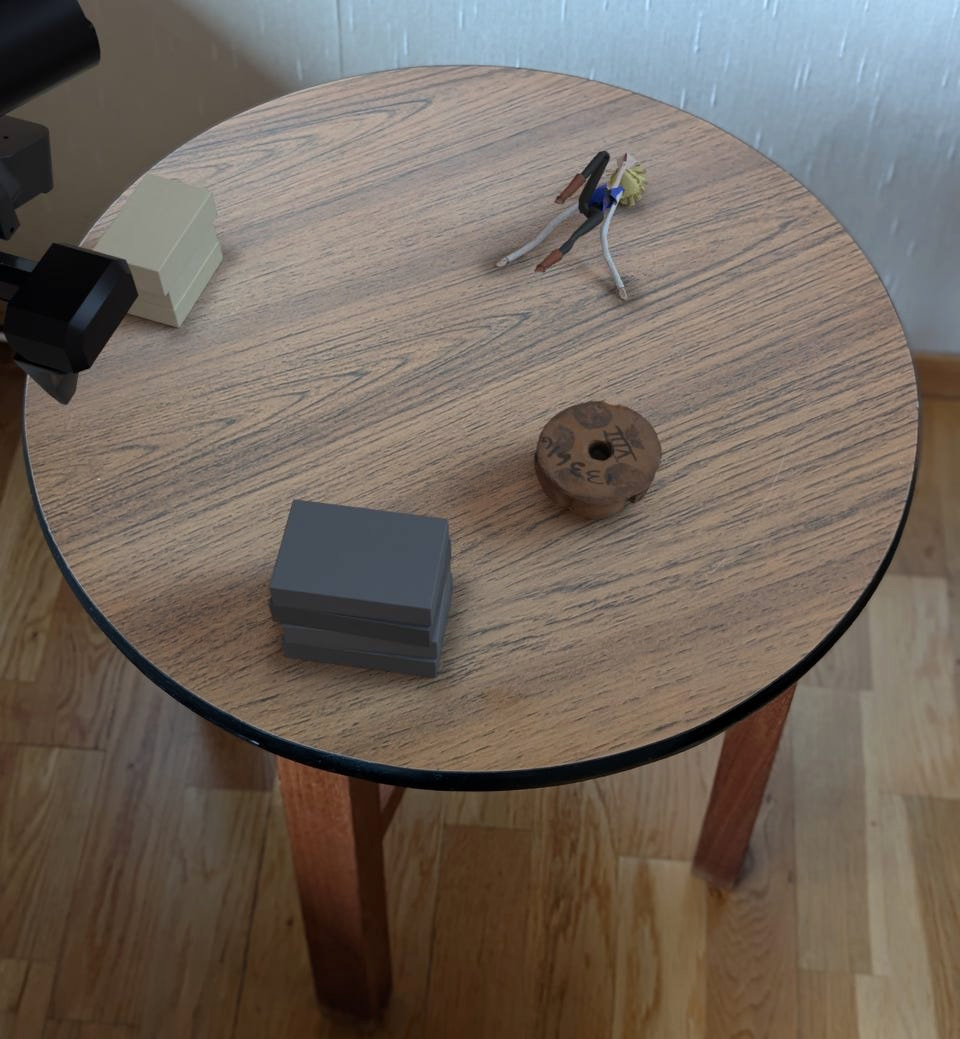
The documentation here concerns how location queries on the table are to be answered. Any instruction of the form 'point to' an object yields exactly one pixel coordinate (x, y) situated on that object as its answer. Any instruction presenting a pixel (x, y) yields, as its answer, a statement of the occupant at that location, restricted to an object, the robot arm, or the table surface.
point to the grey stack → (363, 587)
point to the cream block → (159, 230)
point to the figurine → (592, 208)
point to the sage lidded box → (182, 286)
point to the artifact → (597, 458)
